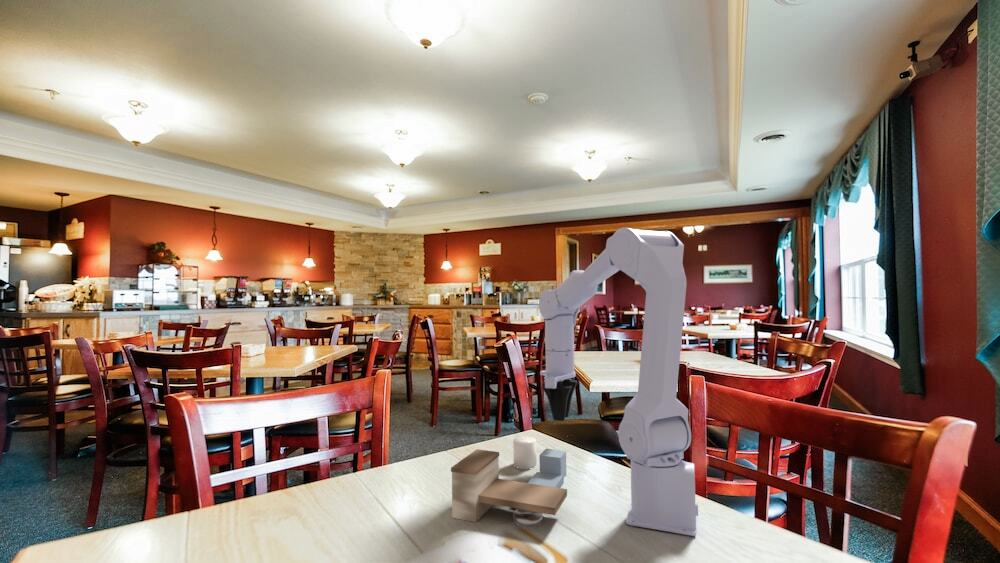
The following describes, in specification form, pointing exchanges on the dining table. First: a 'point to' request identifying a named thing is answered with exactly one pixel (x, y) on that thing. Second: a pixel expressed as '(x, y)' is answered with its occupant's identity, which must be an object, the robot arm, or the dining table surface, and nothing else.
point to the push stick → (551, 469)
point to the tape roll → (527, 518)
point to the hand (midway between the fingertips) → (560, 418)
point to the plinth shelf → (496, 489)
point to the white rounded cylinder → (524, 452)
